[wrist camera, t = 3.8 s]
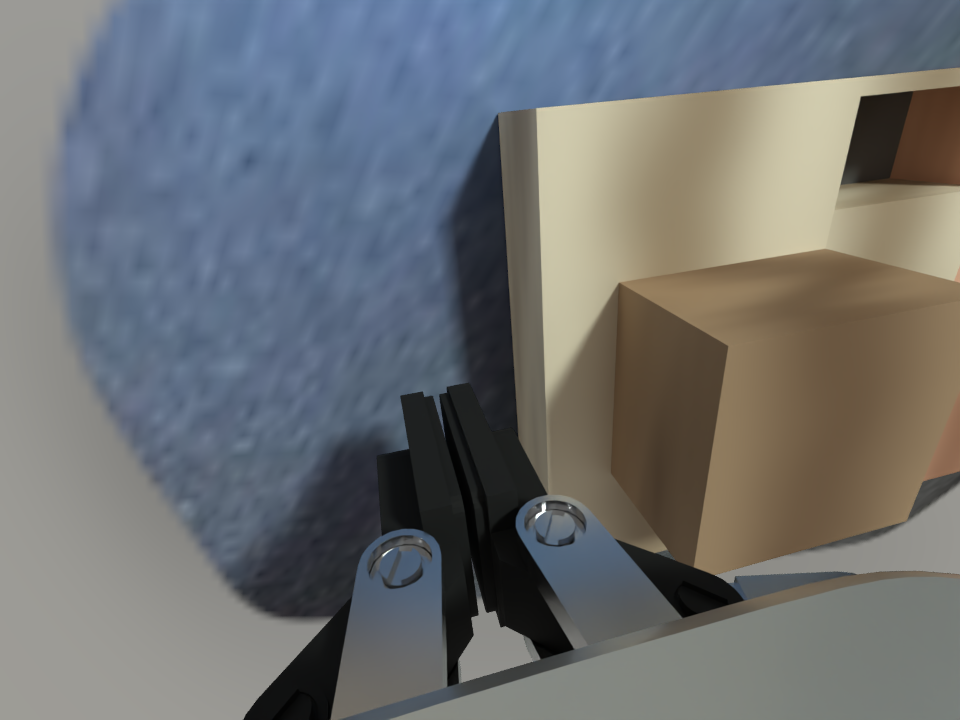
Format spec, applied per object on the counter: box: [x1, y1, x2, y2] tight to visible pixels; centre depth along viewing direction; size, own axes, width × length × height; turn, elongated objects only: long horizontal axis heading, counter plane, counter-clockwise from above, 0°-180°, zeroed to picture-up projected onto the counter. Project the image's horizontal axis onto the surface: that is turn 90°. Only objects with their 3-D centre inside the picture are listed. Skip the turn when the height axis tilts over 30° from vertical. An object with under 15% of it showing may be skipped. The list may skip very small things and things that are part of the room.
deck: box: [498, 68, 960, 553], centre depth 15 cm, size 20×14×5 cm
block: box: [611, 249, 960, 575], centre depth 12 cm, size 6×6×4 cm
